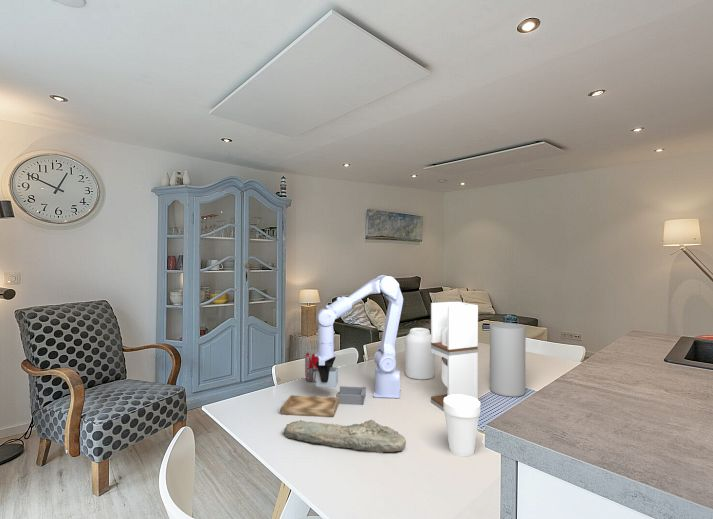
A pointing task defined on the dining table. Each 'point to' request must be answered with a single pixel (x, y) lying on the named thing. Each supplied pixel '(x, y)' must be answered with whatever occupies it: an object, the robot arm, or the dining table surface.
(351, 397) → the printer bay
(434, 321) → the white shelf unit
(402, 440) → the long grey stone
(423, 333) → the white jar
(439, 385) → the dining table surface
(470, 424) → the foam cup
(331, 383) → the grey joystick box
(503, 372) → the cylinder vase
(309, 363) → the soda can
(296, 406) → the tray
